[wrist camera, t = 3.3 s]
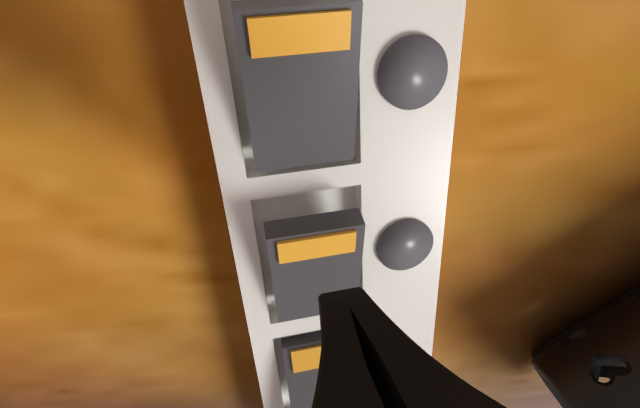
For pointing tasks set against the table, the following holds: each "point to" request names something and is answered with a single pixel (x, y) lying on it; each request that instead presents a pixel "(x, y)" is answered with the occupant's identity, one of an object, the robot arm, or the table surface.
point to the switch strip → (345, 168)
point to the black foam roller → (596, 358)
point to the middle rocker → (313, 259)
